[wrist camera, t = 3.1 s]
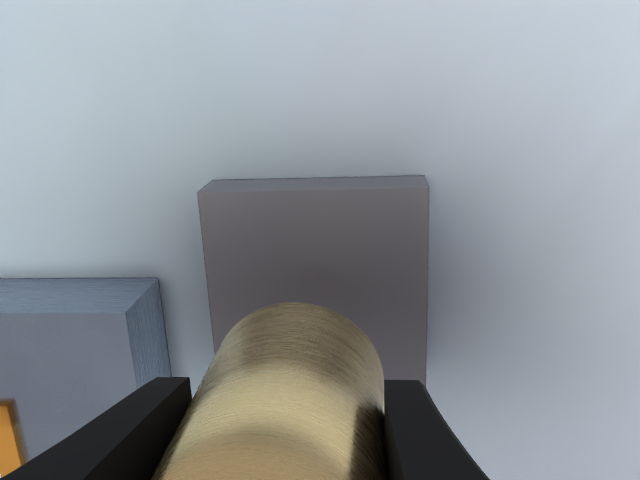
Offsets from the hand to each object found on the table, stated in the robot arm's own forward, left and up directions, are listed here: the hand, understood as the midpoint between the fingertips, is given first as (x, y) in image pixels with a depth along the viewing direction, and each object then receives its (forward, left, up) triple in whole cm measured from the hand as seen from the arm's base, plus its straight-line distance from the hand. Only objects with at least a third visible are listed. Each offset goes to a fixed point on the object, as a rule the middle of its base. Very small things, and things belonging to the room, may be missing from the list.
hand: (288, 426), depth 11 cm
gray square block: (0, 0, -7) cm, 7 cm away
